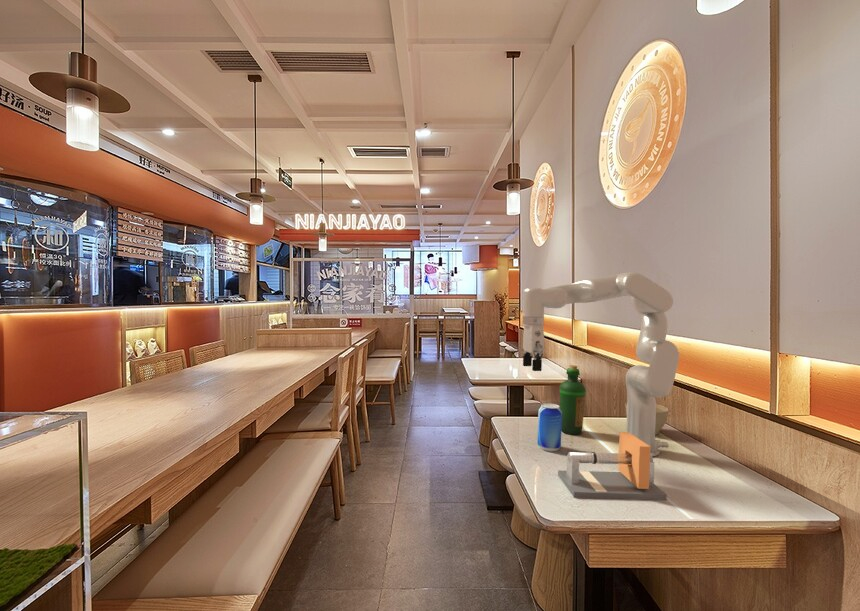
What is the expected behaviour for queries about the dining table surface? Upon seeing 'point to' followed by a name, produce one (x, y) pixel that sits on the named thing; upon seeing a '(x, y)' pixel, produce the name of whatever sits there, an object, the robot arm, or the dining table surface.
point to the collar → (635, 460)
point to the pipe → (599, 458)
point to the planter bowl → (658, 417)
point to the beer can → (549, 427)
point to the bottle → (572, 402)
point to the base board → (608, 486)
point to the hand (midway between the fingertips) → (531, 368)
